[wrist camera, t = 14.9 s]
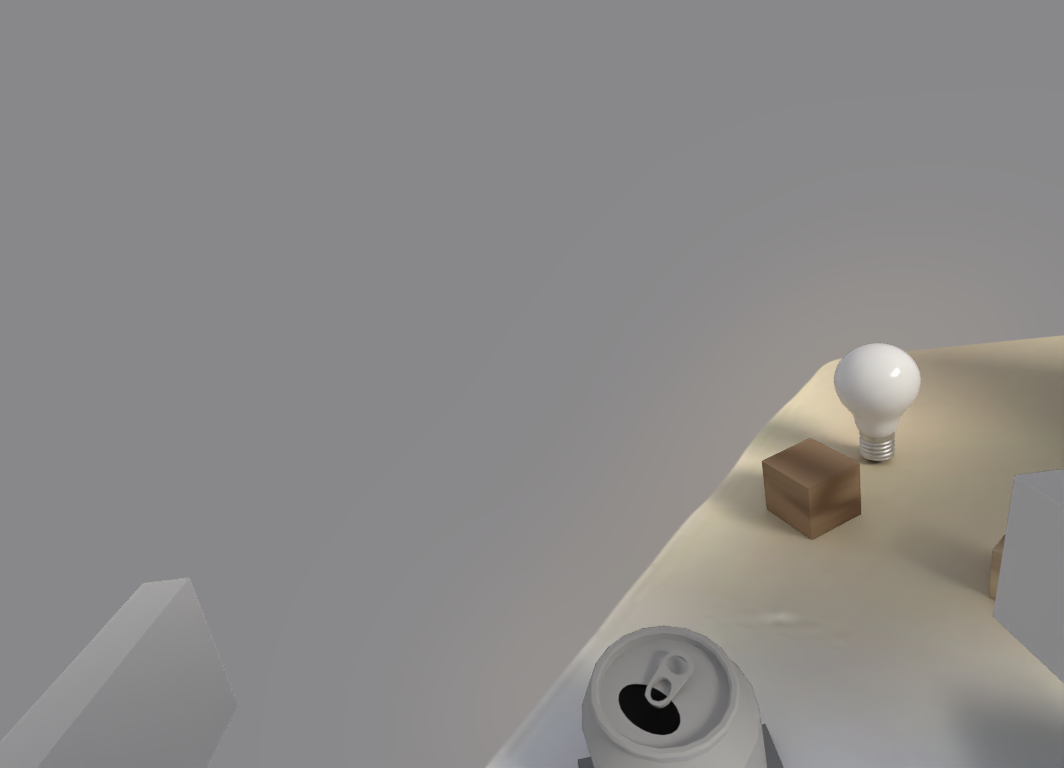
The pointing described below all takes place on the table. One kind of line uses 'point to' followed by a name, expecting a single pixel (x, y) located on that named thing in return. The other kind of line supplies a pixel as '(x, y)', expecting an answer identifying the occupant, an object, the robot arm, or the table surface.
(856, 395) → the lightbulb
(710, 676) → the can
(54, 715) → the robot arm
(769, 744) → the coaster
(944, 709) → the table surface
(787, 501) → the walnut block
